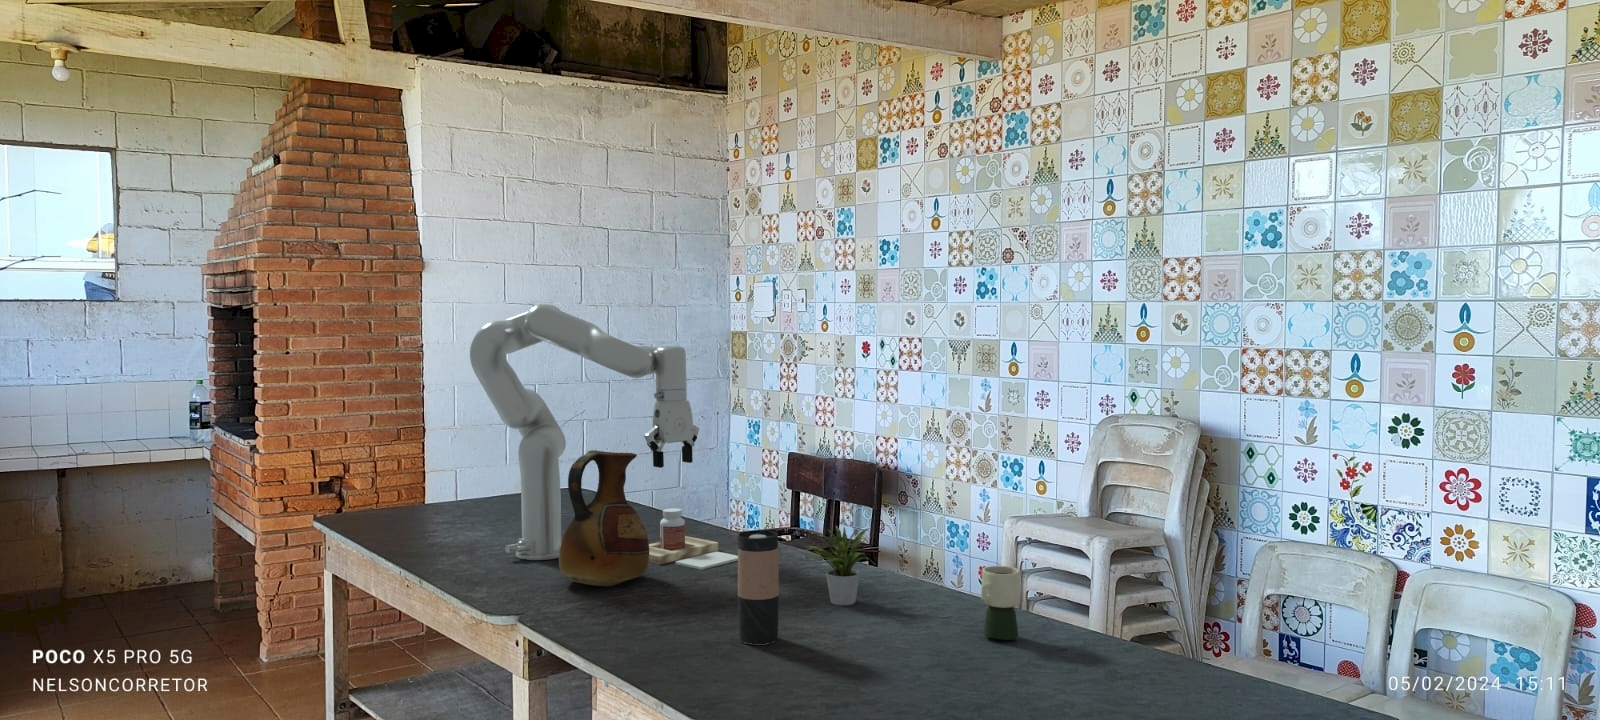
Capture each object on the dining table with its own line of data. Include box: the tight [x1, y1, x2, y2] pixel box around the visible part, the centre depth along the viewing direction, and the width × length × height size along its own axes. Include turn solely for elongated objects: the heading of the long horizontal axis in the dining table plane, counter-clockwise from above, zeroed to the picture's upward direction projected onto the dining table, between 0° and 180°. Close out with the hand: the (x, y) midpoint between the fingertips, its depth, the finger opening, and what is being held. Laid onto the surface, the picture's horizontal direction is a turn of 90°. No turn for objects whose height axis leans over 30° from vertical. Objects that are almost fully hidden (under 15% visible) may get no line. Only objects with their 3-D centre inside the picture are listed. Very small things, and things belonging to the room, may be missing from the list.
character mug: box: [980, 565, 1021, 641], centre depth 211 cm, size 11×7×13 cm, turn 131°
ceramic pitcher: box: [558, 449, 650, 587], centre depth 254 cm, size 20×20×30 cm
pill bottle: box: [659, 507, 686, 551], centre depth 282 cm, size 6×6×11 cm
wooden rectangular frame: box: [648, 535, 719, 566], centre depth 282 cm, size 20×12×2 cm, turn 139°
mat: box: [674, 551, 738, 571], centre depth 274 cm, size 14×9×1 cm, turn 139°
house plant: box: [806, 525, 872, 606], centre depth 238 cm, size 14×14×16 cm
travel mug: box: [737, 530, 780, 644], centre depth 211 cm, size 8×8×20 cm
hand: (673, 464), depth 281 cm, fingers open, 9 cm apart
